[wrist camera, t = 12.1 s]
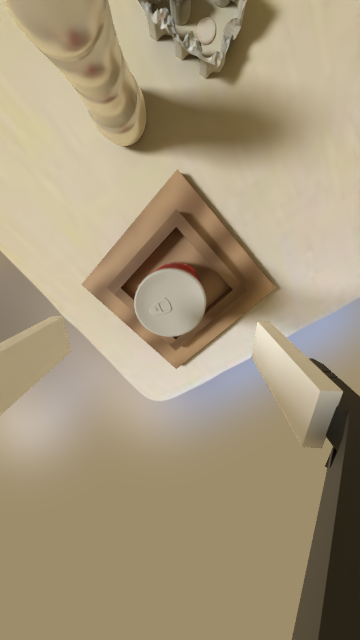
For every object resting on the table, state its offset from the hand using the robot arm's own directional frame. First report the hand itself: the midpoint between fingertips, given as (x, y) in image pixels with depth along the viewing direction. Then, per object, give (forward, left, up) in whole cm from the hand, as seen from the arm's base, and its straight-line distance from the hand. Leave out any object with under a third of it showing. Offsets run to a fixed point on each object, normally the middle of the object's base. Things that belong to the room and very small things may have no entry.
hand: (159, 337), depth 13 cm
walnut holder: (0, 0, -21) cm, 21 cm away
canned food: (0, 0, -19) cm, 19 cm away
